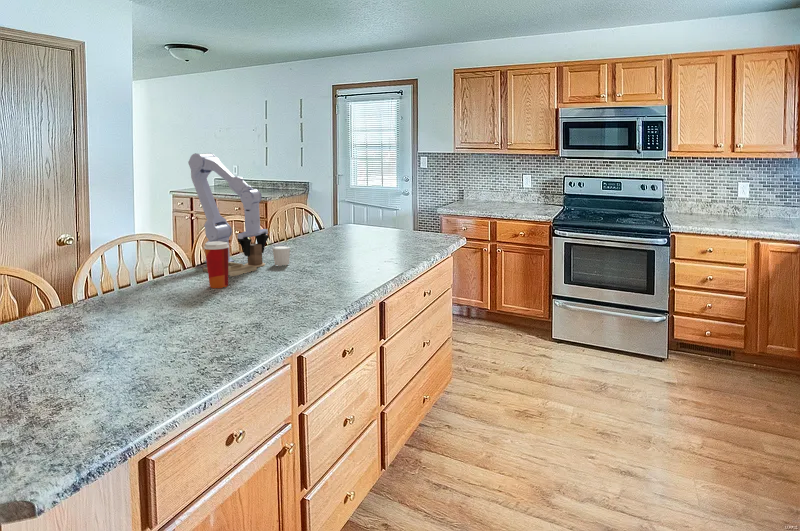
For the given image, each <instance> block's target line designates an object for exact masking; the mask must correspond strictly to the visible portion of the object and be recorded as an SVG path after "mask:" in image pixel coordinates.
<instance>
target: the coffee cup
mask: <svg viewBox="0 0 800 531" xmlns="http://www.w3.org/2000/svg"><path fill="white" fill-rule="evenodd" d="M228 247H229V248H230V244H229V245H228V243H227V242H222V241H215V242H208V243H206V242H205V243H204V246H203V249H204V253H205V254H206V256H205V261H206V262H205V263H206V267H207V269H208V272H207V276H208V282H209V288H211V289H216V288H217V289H224V288H223V287H225V288H228V287H227V286H229V276H228ZM205 254H204V255H205Z"/></svg>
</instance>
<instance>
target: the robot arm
mask: <svg viewBox="0 0 800 531" xmlns="http://www.w3.org/2000/svg"><path fill="white" fill-rule="evenodd" d="M187 162H188V165H189V169H190V176H191V177H190V178H191V181H192V183H193V187H194V189H195V191H196V194H197V196H198V200H199V202H200V205H201V207H202V209H203V212H204V215H205V218H206V221H205V223H204V224H203V226H204V230H205V237H206V238H207V241H206V242H205V243H208V242H215V241H222V242H227V243H228V245H229V247H228V262H235V259H231V258H230V256H231V255H230V243H229V240H230V237H231V236H232V233H233V230H232V226H231V225H230V224H229V223H228V221H227V219H226V218H225V217H223V216H222V215H221V213H220V210H219V208H218V206H217V203H216V199H215V197H214V194H213V192H212V189H211V186H210V184H209V181H208V177H209V175H210V174H211V173H212V172H214V173H216V174H217V175H218V176H220V178H222V179H223V180H225V181H226V183H228V187H229V189H230V190H232V191H233V193H235V194H236V195H237V196H238V197H239V199H240V202H241V203H242V205H243V209H244V210H243V212H244V228H245V231H243V232H240V233H237V242H238V243H239V245H240V246H241V249H242V251H243V255H244V257H248V256H250V244H252V239H251V238H252V237H255V240H256V244H262V254H264V253H265V252H264V251H265V247H266V243H267V241H268V239H269V235H268V234H269V229H268V228H262V229H261V216H260V214H261V213H260V203H261V201H262V200H263V197H262V193H261V192H260V190H259V189H257V188H253V187H252V186H251V185H250V184H248V183H247V182H246V181H245V180H244V178H243V176H238V175H237V176H235V175H234V174H233V173H232V172H231V171H230V170H229V169H228V168H227V167H226V166H225V165H224V164H223V162H221V161H220V158H219V157H217V156H216V155H215V154H214V153H213V152H208V153H193V154H191V155H190V157H189V160H188V161H187ZM204 255H205V257H206V254H204ZM203 262H204V263H207V262H206V260H204V261H203Z"/></svg>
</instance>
